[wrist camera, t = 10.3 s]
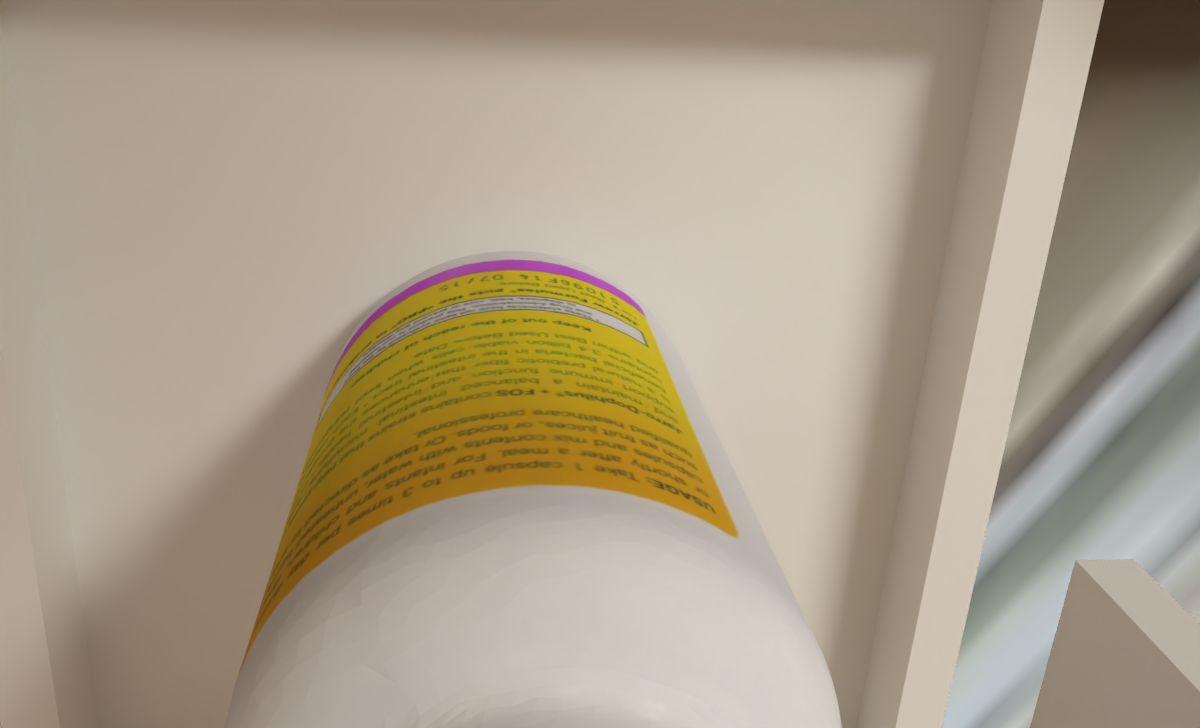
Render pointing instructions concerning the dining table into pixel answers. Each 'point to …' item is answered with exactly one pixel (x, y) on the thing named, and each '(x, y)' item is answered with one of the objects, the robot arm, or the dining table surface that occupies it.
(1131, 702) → the robot arm
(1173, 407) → the dining table surface
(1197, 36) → the dining table surface
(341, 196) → the tray
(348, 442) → the supplement bottle
